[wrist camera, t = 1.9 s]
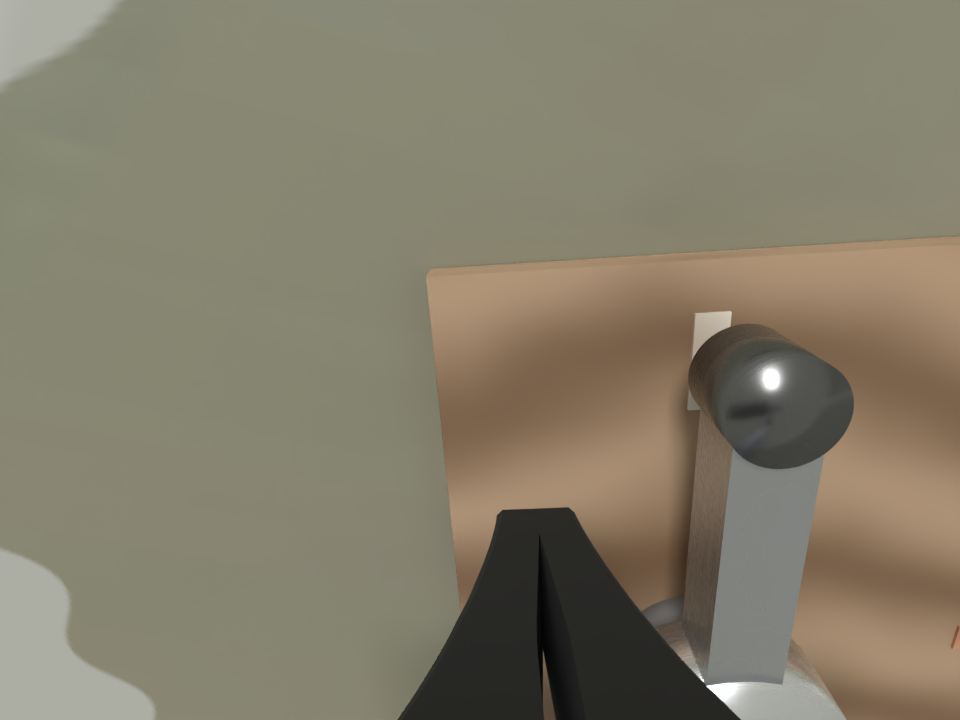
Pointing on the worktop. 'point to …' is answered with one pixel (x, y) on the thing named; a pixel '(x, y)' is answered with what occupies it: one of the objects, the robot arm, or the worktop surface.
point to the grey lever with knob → (756, 519)
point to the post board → (675, 424)
